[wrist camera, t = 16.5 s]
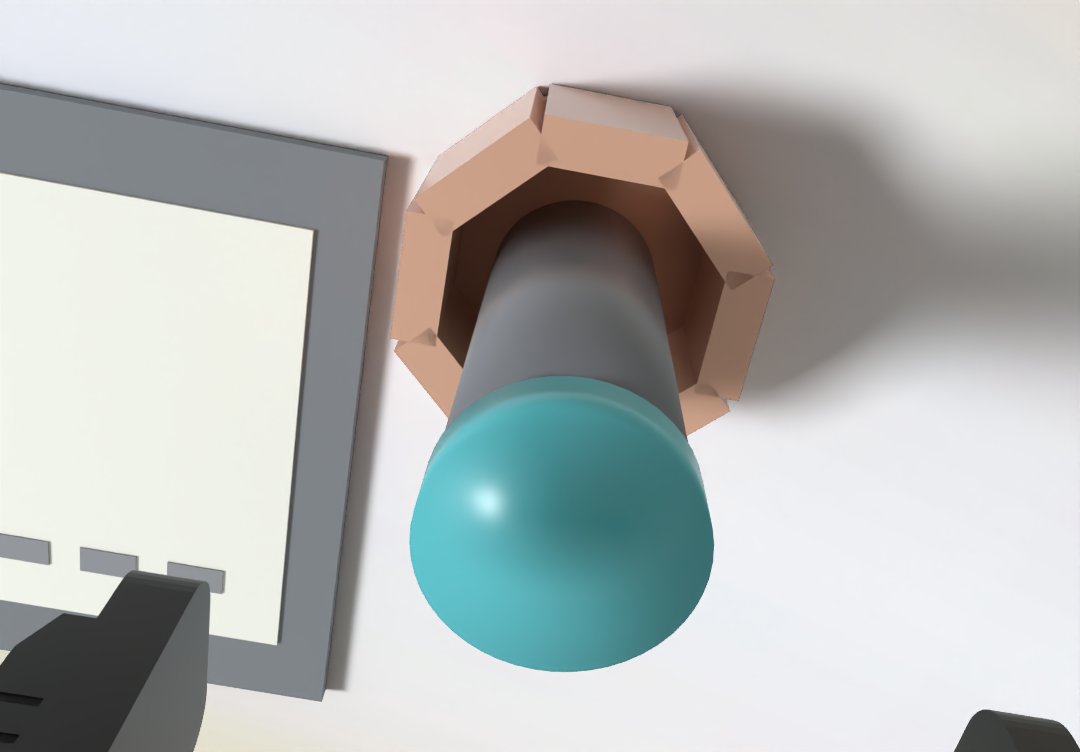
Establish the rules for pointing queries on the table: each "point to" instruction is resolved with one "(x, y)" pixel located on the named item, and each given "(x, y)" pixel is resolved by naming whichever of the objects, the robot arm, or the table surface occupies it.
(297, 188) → the grey tablet
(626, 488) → the marker
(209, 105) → the table surface
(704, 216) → the pen cup
